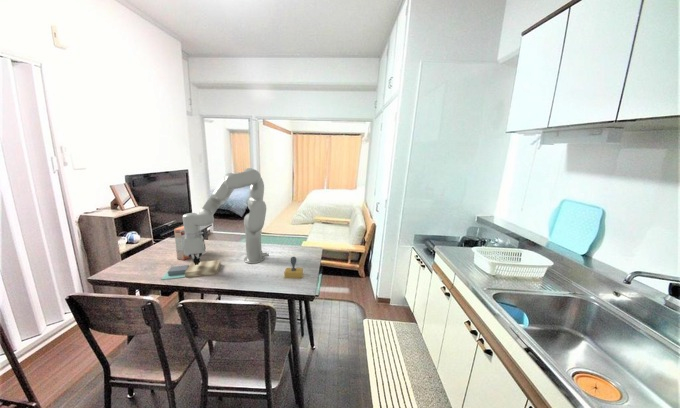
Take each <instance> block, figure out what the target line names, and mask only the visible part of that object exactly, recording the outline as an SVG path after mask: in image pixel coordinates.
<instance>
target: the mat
mask: <svg viewBox="0 0 680 408" xmlns="http://www.w3.org/2000/svg"><path fill="white" fill-rule="evenodd" d="M169 270H170V268H169ZM169 270H168V271H169ZM168 271H166V273H165V274H164V276H163V277H162V278H161V279H160V280H161V281H162V280H165V281H166V280H172V279H173V280H175V279H181V278H186V277H185V274H180V275H171V276H168Z"/></svg>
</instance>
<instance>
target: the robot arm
mask: <svg viewBox="0 0 680 408" xmlns="http://www.w3.org/2000/svg"><path fill="white" fill-rule="evenodd" d="M245 187H249V193H248V194H249V195H248V200H247V208H248V210H249V213H246V214H245V216H244V218H243V227H244V233H245V234H244V235H245V237H244V238H245V250H246V251H245V252H246V253H245V254H246V256H245V257H244V258H243V260H244V262H245V263H246V264H258V263H259V264H260V262H262V261H264V260H265V257H270V255H269V254H270V253H268V252H263V250H262V232H261V231H262V230H263V228H264V226H265V220H266V214H267V204H266V202H265V201H264V195H265V183H264V180H263V178H262V177H261V173H260V172H259V171H258V170H256V169H254V168H252V167H248V168H245V169H244V170H243V171H242V172H237V173H232V172H228V173H226V174H225V175H224V176H223V177H222V178H221V180H220V182H219V183H218V185H217V186H216V188H215V189H214V191H213V192H212V193H211V195H210V196H209V197H208V199H207V200H206V201H205V203H204V205H203V206H202V207H201V209H200V211H199V213H196V212H189V213H185V214H183V215H182V217H181V218H182V223H183V225H182V226H184V232H185V238H184V252H185V256H190V257H189V258H191V259H192V261H193V262H192V263H195V265H198V264H199V263H200V262H201V256H202V255H205V254H207V251H206V249H207V246H206V242H205V238H204V236H203V235H204V231H201V227H203V226H204V227H206V226H207V227H208V226H210V225H212V224H213V223H214V222H215V221H214V220H215V217H214V214H215V213H216V212H217V210H218V209H219V207H221V205H223V204H225V203H226V202H227V201H228V199H229V198H230V196H231V195H232V193H233V192H234V190H236V189H241V188H245ZM200 226H201V227H200ZM195 254H196V255H195Z"/></svg>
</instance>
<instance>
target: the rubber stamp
mask: <svg viewBox="0 0 680 408" xmlns="http://www.w3.org/2000/svg"><path fill="white" fill-rule="evenodd" d="M297 262H298V261H297V258H296V256H291V257H290V264H291V267H285V271H284V273H283V274H284V279H302V278H303V274H304V268H303V267H296V264H297Z"/></svg>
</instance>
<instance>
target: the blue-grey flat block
mask: <svg viewBox="0 0 680 408" xmlns="http://www.w3.org/2000/svg"><path fill="white" fill-rule="evenodd" d="M189 266H190V264H188V265H187V264H186V265H176V266H171V267H170V268H169V269H170V270H168V271H167V272H168V276H171V275H180V274H185V272H186V270H187V269H188V267H189Z"/></svg>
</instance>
